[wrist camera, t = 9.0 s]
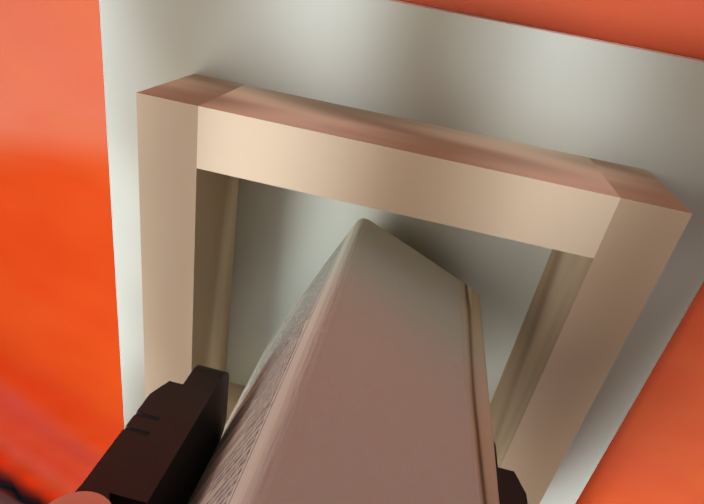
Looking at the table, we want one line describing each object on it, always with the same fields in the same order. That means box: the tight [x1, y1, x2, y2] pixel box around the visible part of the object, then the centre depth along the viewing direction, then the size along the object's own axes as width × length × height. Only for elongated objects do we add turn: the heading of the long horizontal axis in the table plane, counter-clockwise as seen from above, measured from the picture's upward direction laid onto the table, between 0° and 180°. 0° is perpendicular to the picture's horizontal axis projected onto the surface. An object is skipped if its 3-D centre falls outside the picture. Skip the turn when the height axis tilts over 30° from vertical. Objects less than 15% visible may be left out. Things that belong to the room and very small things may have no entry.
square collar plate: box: [99, 0, 704, 504], centre depth 16 cm, size 18×18×4 cm
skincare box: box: [187, 218, 500, 504], centre depth 11 cm, size 6×4×12 cm
